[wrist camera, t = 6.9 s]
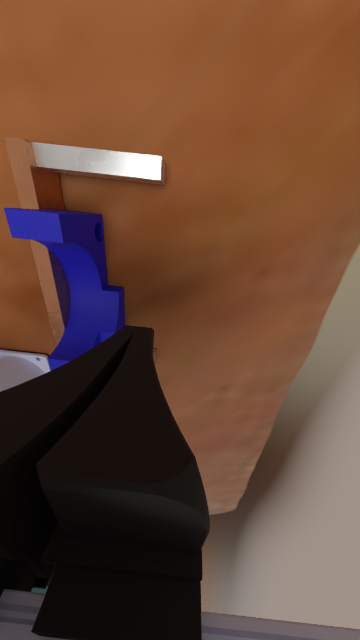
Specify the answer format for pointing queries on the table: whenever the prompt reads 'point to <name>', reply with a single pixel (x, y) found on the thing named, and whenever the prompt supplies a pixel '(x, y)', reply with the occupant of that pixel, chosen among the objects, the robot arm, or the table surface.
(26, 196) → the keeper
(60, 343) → the cable clip
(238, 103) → the table surface
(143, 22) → the table surface
